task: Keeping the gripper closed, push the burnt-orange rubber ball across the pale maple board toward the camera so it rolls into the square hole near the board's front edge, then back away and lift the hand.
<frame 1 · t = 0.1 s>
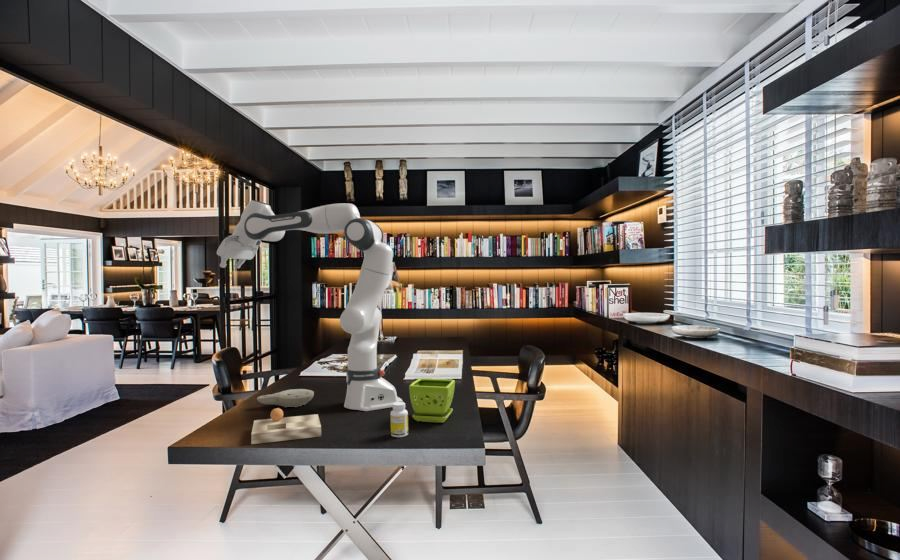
hand: (229, 267, 193), 54 cm above the table, tool tilted 30°, fingers open, 8 cm apart
supplement bottle: (399, 435, 148), on the table
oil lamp: (286, 406, 184), on the table
flower pot: (432, 419, 165), on the table
ball: (276, 414, 154), point 5 cm above the table, touching hole board
hole board: (286, 432, 151), on the table
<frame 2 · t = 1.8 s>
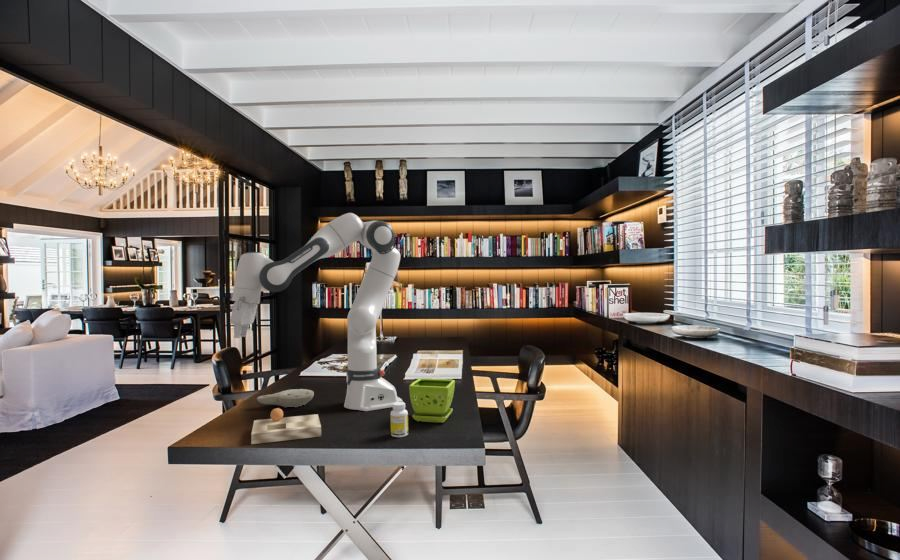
hand: (239, 337, 164), 29 cm above the table, tool pointing down, fingers open, 8 cm apart
nothing on the table moved.
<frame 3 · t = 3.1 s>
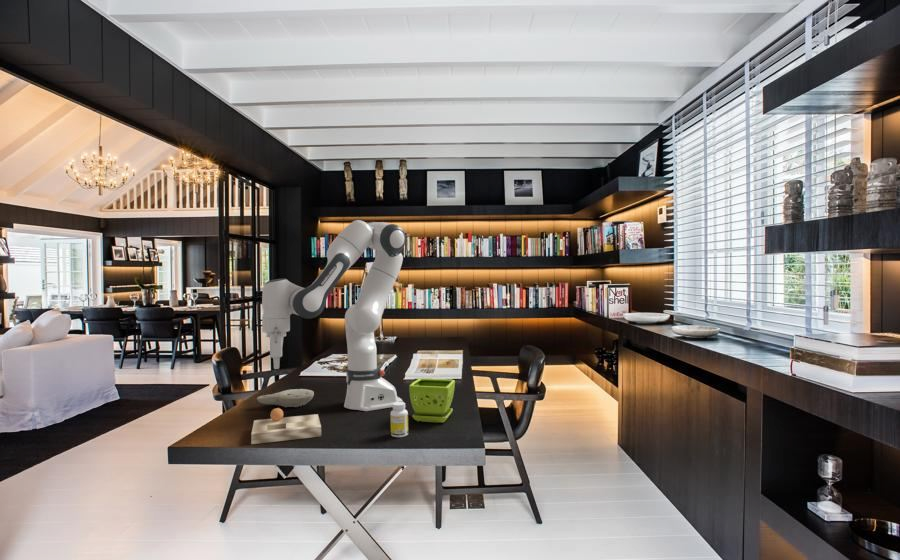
hand: (276, 367, 161), 19 cm above the table, tool pointing down, fingers open, 5 cm apart
nothing on the table moved.
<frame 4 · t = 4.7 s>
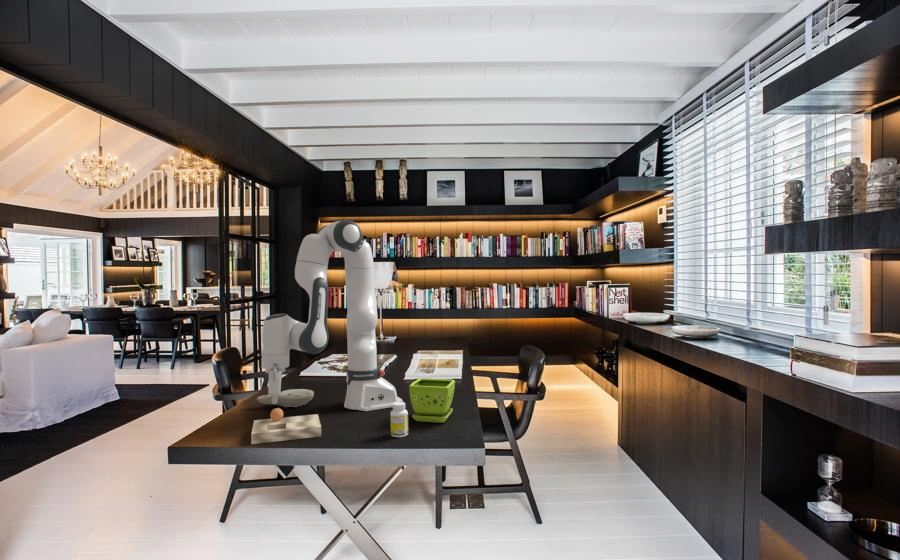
hand: (274, 402, 161), 7 cm above the table, tool pointing down, fingers closed
nothing on the table moved.
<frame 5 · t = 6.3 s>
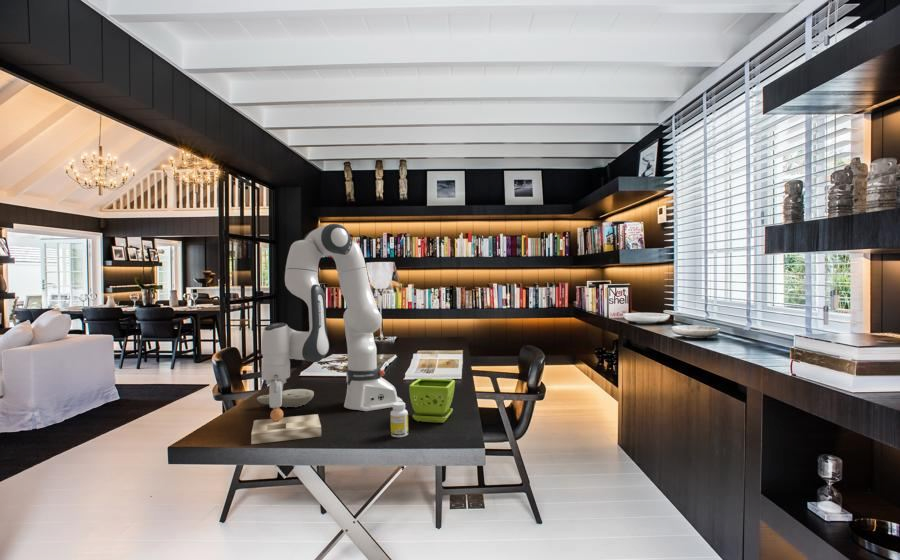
hand: (276, 414, 157), 4 cm above the table, tool pointing down, fingers closed
ball: (276, 414, 154), point 5 cm above the table, tilted 6°, touching gripper, hole board
everything else where it was.
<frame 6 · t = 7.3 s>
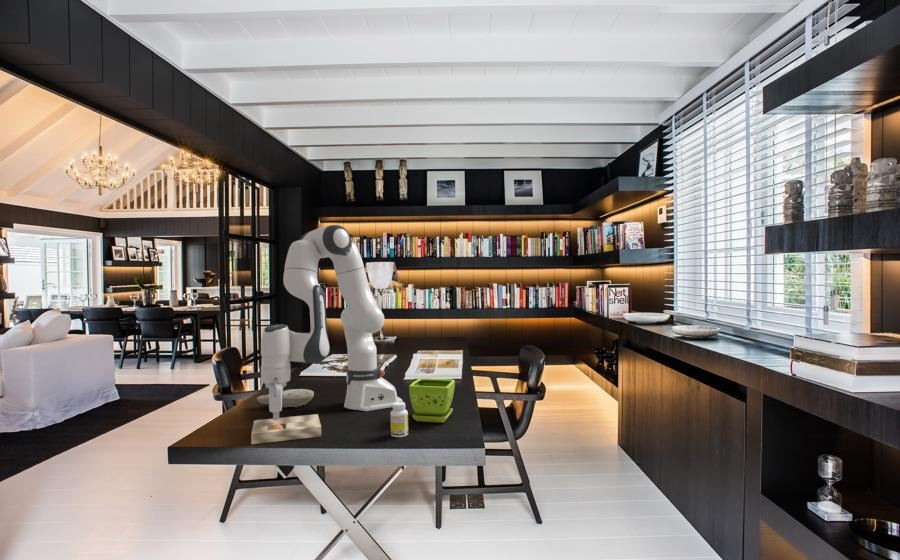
hand: (276, 419, 152), 4 cm above the table, tool pointing down, fingers closed
ball: (276, 430, 147), point 2 cm above the table, tilted 109°
everything else where it was.
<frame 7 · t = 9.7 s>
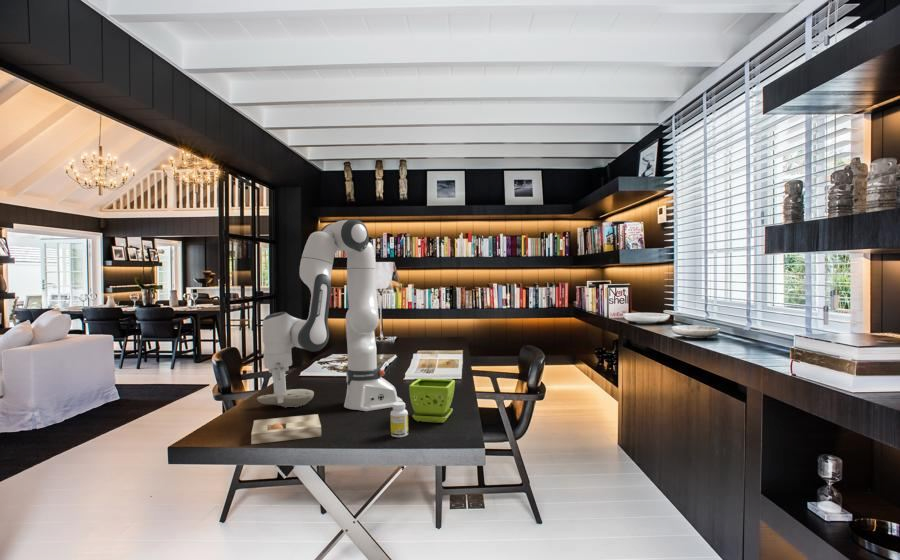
hand: (280, 402, 160), 8 cm above the table, tool pointing down, fingers closed
ball: (276, 429, 148), point 2 cm above the table, tilted 132°
everything else where it was.
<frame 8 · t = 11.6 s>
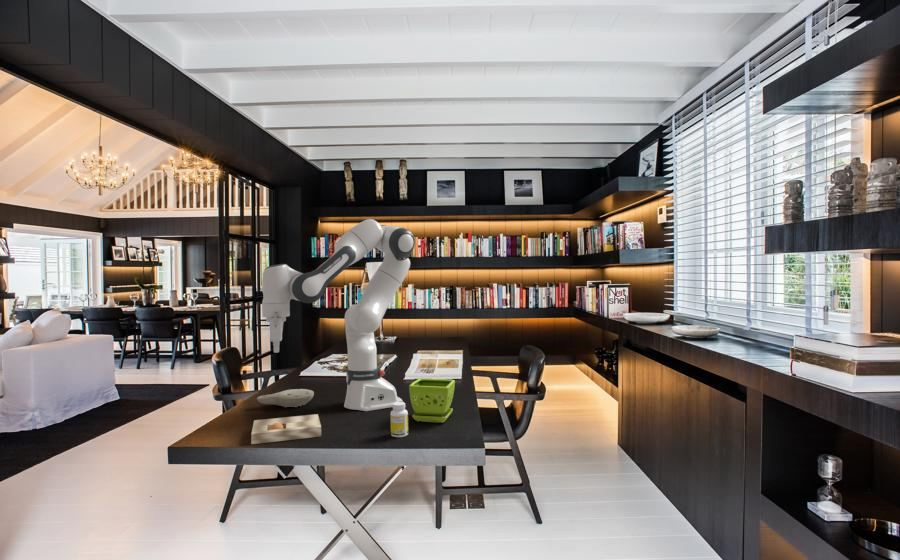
hand: (276, 352, 162), 24 cm above the table, tool pointing down, fingers closed
ball: (276, 429, 148), point 2 cm above the table, tilted 149°
everything else where it was.
at the end: ball 0.7 cm from the target spot on the hole board, point 2.0 cm above the hole board's base; ball touching table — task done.
